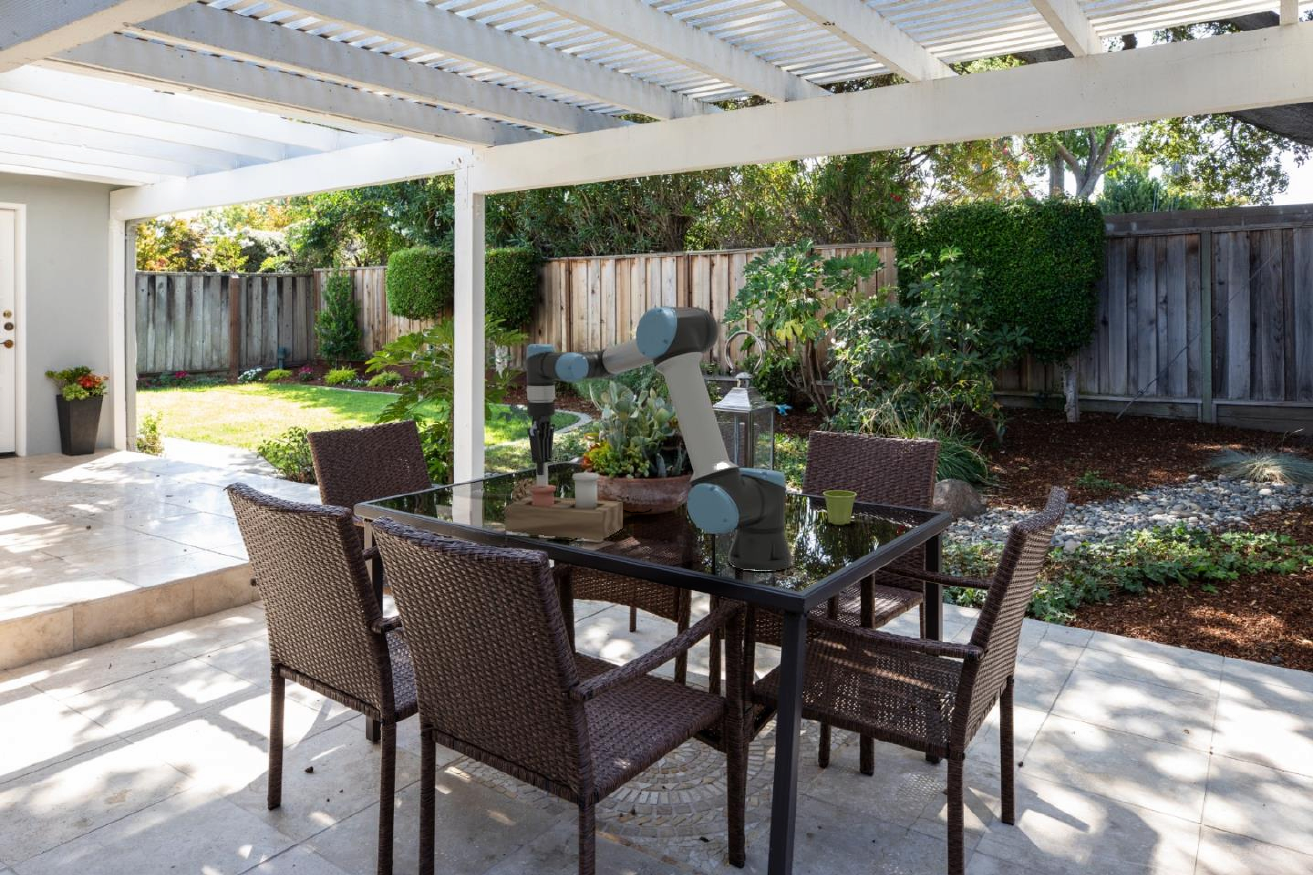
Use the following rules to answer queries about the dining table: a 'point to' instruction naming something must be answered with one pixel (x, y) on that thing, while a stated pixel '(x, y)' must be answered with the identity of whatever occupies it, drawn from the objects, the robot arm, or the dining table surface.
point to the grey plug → (586, 490)
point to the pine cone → (523, 490)
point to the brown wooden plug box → (565, 519)
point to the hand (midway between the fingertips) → (542, 485)
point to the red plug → (543, 495)
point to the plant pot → (839, 506)
